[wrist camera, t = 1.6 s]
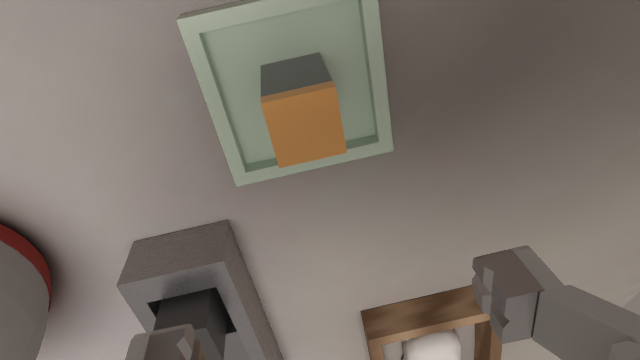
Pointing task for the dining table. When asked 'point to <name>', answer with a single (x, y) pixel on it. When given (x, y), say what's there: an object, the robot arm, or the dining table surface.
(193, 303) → the twin plug
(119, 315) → the dining table surface
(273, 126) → the plug
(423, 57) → the dining table surface
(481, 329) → the garlic corral
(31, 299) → the citrus juicer
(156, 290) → the grey socket block
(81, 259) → the dining table surface
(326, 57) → the tray
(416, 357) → the garlic
